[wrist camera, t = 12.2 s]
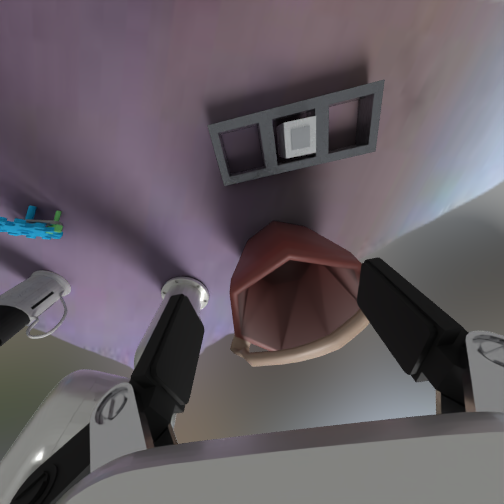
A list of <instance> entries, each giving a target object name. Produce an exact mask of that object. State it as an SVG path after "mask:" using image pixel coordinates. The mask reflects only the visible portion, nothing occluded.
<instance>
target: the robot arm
mask: <svg viewBox="0 0 504 504" xmlns="http://www.w3.org/2000/svg"><path fill="white" fill-rule="evenodd" d="M161 296H162V299H163V301H162V303H161V305H160V307H159V308H158V310H157V312H156V314H155V316H154V318H153V320H152V322H151V323H150V325H149V327H148V329H147V331H146V333H145V335H144V337H143V338H142V340H141V342H140V344H139V346H138V348H137V350H136V353H135V357H134V371H133V373H132V375H131V378H126V377H122V376H118V375H113V374H109V373H105V372H100V371H95V370H88V369H87V370H86V369H85V370H78V371H75V372H72V373H71V374H69V375H67V376H66V377H65V378H63V379H62V380H61V381H60V382H59V383H58V384H57V385H56V386H55V387H54V389H53V390H52V391H51V392H50V393H49V394H48V396H47V397H46V398H45V399H44V401H43V402H42V404H41V405H40V406H39V408H38V409H37V411H36V412H35V413H34V414H33V416H32V417H31V419H30V420H29V421H28V423H27V424H26V426H25V427H24V429H23V430H22V432H21V433H20V434H19V436H18V437H17V439H16V441H15V442H14V443H13V445H12V446H11V447H10V449H9V450H8V452H7V453H6V455H5V456H4V458H3V459H2V460H1V462H0V504H504V336H502V335H499V334H496V333H492V332H487V331H473V332H470V333H468V332H467V331H466V330H465V329H464V328H463V327H462V326H461V325H460V324H458V323H457V322H456V321H455V320H454V319H452V318H451V317H450V316H449V315H448V314H446V313H445V312H444V311H443V310H442V309H440V308H439V307H438V306H437V305H436V304H434V303H433V302H432V301H431V300H430V299H429V298H427V297H426V296H425V295H424V294H423V293H421V292H420V291H419V290H418V289H416V288H415V287H414V286H413V285H412V284H411V283H409V282H408V281H407V280H406V279H404V278H403V277H402V276H401V275H400V274H399V273H397V272H396V271H395V270H394V269H393V268H391V267H390V266H389V265H388V264H387V263H385V262H384V261H383V260H382V259H380V258H373V259H367V260H365V262H364V263H362V265H361V271H360V279H359V287H358V294H357V304H358V306H359V308H360V309H361V311H362V312H363V314H364V315H365V316H366V318H367V319H368V321H369V322H370V324H371V325H372V326H373V328H374V329H375V331H376V332H377V333H378V335H379V336H380V338H381V339H382V341H383V342H384V343H385V345H386V346H387V348H388V349H389V351H390V352H391V353H392V355H393V356H394V358H395V359H396V361H397V362H398V363H399V365H400V366H401V368H402V369H403V370H404V372H405V373H407V374H408V375H411V376H412V377H413V379H414V380H415V382H421V381H429V382H430V383H431V384H432V385H433V387H434V388H435V389H436V415H427V416H415V417H406V418H396V419H388V420H379V421H369V422H360V423H351V424H342V425H333V426H324V427H316V428H307V429H298V430H290V431H281V432H272V433H264V434H256V435H247V436H238V437H230V438H222V439H213V440H205V441H197V442H189V443H182V444H178V442H177V439H176V436H175V433H174V431H173V429H174V425H175V419H176V413H182V412H184V408H185V404H187V403H188V401H189V398H190V394H191V390H192V385H193V380H194V376H195V371H196V367H197V362H198V358H199V353H200V349H201V344H202V340H203V335H204V326H203V324H202V322H201V318H200V317H199V313H200V310H201V309H203V308H204V307H205V306H206V305H207V303H208V300H209V292H208V290H207V288H206V287H205V286H204V285H203V284H202V283H201V282H199V281H197V280H195V279H193V278H189V277H175V278H172V279H170V280H168V281H167V282H166V283H165V284H164V286H163V288H162V290H161Z"/></svg>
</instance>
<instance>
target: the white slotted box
mask: <svg viewBox="0 0 504 504" xmlns="http://www.w3.org/2000/svg"><path fill="white" fill-rule="evenodd" d="M276 131H277V142H278V153H279V156H280V157H283V158H291V157H296V156H301V155H306V154H311V153H316V116H313V117H308V118H303V119H299V120H294V121H289V122H285V123H282V124H281V125H279V126H277V127H276Z"/></svg>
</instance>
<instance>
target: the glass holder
mask: <svg viewBox="0 0 504 504" xmlns="http://www.w3.org/2000/svg"><path fill="white" fill-rule="evenodd" d="M70 291H71V287H70V285H69V283H68V282H67V281H66V280H65V279H64V278H63V277H61V276H60V275H58V274H56V273H53V272H50V271H44V270H40V271H36V272H34V273H33V274H32V275H31V277H30V278H28V279H26V280H25V281H23V282H21V283H20V284H18V285H17V286H15V287H13V288H12V289H10V290H8V291H7V292H5V293H3V294H2V295H0V346H2V345H3V344H4V343H5V342H6V341H8V340H9V339H10V338H11V337H13V336H14V335H15V334H16V333H17V332H19V331H20V330H21V329H22V328H23V327H25V326H27V325H29V324H30V323H31V322H32V321H33V320H35V319H36V321H34V322H33V323H32V324H31V325H30V326H29V327H28V329H27V331H26V334H27V336H28V337H29V338H33V339H36V338H42V337H46V336H48V335H50V334H51V333H53V332H54V331H55V330H56V329H57V328H58V327H59V326H60V325H61V324H62V322H63V321H64V319H65V317H66V314H67V307H66V305H65V302H64V300H63V298H62V297H63V296H66V295H68V294H69V293H70ZM59 299H60V300H61V302H62V303H63V306H64V309H65V311H64V315H63V317H62V319H61V321H60V322H59V323H58V324H57V325H56V326H55V327H54V328H53V329H52V330H51V331H49V332H47V333H46V334H43V335H38V336H32V335H30V330H31V329H32V328H33V327H34V326H35V325H36V324H37V323H38V321H39V319H38V316H39V315H41V314H42V313H43V312H44V311H46V310H47V309H48V308H49V307H50V306H52V305H53V304H54V303H55V302H56V301H58V300H59Z"/></svg>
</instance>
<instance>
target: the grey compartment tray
mask: <svg viewBox="0 0 504 504" xmlns="http://www.w3.org/2000/svg"><path fill="white" fill-rule="evenodd" d="M384 81H385V80H381V81H377V82H373V83H369V84H365V85H361V86H357V87H354V88H350V89H346V90H342V91H338V92H334V93H330V94H327V95H323V96H319V97H315V98H311V99H307V100H303V101H300V102H296V103H292V104H288V105H284V106H280V107H276V108H273V109H269V110H265V111H261V112H257V113H253V114H249V115H246V116H242V117H238V118H234V119H230V120H226V121H222V122H218V123H215V124H211V125H207V126H208V129H209V133H210V137H211V140H212V144H213V147H214V151H215V155H216V158H217V162H218V165H219V169H220V173H221V176H222V180H223V183H224V186H227V185H231V184H235V183H240V182H244V181H248V180H253V179H257V178H261V177H266V176H270V175H274V174H279V173H283V172H288V171H292V170H296V169H301V168H305V167H309V166H314V165H318V164H322V163H327V162H331V161H336V160H340V159H344V158H349V157H353V156H357V155H362V154H366V153H370V152H375V151H376V143H377V135H378V127H379V120H380V112H381V104H382V96H383V89H384ZM355 100H359V107H358V120H357V133H356V145H352V146H348V147H344V148H339V149H335V150H331V151H328V133H329V107H331V106H335V105H339V104H343V103H347V102H351V101H355ZM303 113H307V118H308V117H313V116H316V153H311V154H309V156H305V157H301V158H297V159H292V160H288V161H284V162H279V163H277V157H276V148H275V140H274V132H273V124H272V121H276V120H280V119H284V118H288V117H292V116H295V115H299V114H303ZM256 125H257V126H258V132H259V138H260V145H261V151H262V157H263V163H264V166H262V167H258V168H254V169H250V170H245V171H241V172H237V173H233V174H231V173H230V169H229V165H228V161H227V157H226V153H225V149H224V145H223V141H222V137H221V134H224V133H228V132H232V131H236V130H240V129H244V128H248V127H252V126H256Z"/></svg>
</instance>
